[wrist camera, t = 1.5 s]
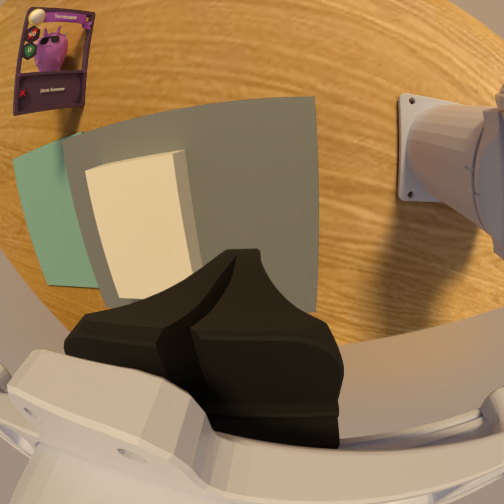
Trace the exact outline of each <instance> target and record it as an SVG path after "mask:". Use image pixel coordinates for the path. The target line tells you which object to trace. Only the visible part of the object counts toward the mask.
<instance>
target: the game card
mask: <svg viewBox="0 0 504 504" xmlns="http://www.w3.org/2000/svg"><path fill="white" fill-rule="evenodd" d="M86 17H89V21H88V22H86ZM94 19H95V13H94V12H89V11H81V10H72V9H61V8H44V7H31V8H30V9H29V10H28V11H27V14H26V18H25V22H24V26H23V31H22V36H21V41H20V47H19V53H18V59H17V67H16V76H15V86H14V102H13V115H14V116H17V115H22V114H28V113H34V112H40V111H46V110H53V109H61V108H70V107H80V106H84V104H85V90H86V77H87V66H88V57H89V49H90V42H91V36H92V30H93V24H94ZM42 22H73V23H81V24H82V28H85V29H87V32H86V38H85V45H84V52H83V60H82V69H81V70H62V71H60V67H61V65H62V63H63V62H64V60H65V57H66V54H67V50H68V43H67V38H68V37H67V38H66V35H67V33H66V34H60V33H59V32H60V29H61V26H59V28H58V30H57V31H56V33H50V34H48V33H47V29H46V28H45V30H44V37H42V38H39V35H40V29H38V28H37V27H35V26H37V25H39V24H41V23H42ZM28 23H30V24H31V25H33V26H32V27H31V28H29V29H27V28H28ZM35 40H37V42H35V44H34V43H32V42H34V41H35ZM25 41H27V42H29V43H28V44H26V45H24V43H25ZM22 57H23V58H25V59H27V60H29V59H30V58H32V57H34V59H35V62H36V66H37V67H38V69H39V71H38V72H31V73H20V70H21V62H22ZM56 70H57V71H56Z"/></svg>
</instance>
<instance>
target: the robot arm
mask: <svg viewBox="0 0 504 504" xmlns="http://www.w3.org/2000/svg"><path fill="white" fill-rule="evenodd" d="M499 92H500V93H497V94H496V95H495V99H496V103H497V107H493V106H476V105H463V104H459V103H455V102H450V101H446V100H441V99H436V98H430V97H425V96H419V95H413V94H406V93H404V94H400V95H399V97H398V108H399V176H398V197H399V198H400V199H401V200H402V201H421V202H443V203H445V204H446V205H448V206H449V207H451V208H452V209H454V210H455V211H457V212H458V213H460V214H461V215H463V216H464V217H466V218H467V219H468V220H470V221H471V222H473V223H474V224H475V225H477V226H478V227H479V228H481V229H482V230H484V231H485V232H486V233H487V234H489V235H490V236H491V238H492V240H493V245H494V252H495V253H496V254H497V255H498V256H499V257H501V258H502V259H503V260H504V84H503V85H502V87H501V89H500V91H499ZM409 98H412V100H413V104H410V102H409ZM409 192H412V195H411V196H410V197H408V193H409ZM64 351H65V354H62V353H58V352H54V351H51V350H33V351H32V353H31V354H30V355H29V356H28V358H27V359H26V360H25V362H24V363H23V364H22V365H21V367H20V368H19V369H18V371H17V372H16V373H15V375H14V376H13V377H12V376H11V375H10V373H9V372H8V370H7V369H6V368H5V367H4V366H3V365H2V364H1V363H0V437H1V438H3V439H4V440H5V441H6V442H8V443H9V444H10V445H12V446H13V447H14V448H16V449H17V450H18V451H20V452H21V453H22V454H24V455H25V456H27V457H28V458H29V459H30V460H29V462H28V464H27V466H26V468H25V470H24V472H23V474H22V476H21V478H20V480H19V483H18V485H17V487H16V489H15V491H14V493H13V496H12V498H11V500H10V503H9V504H448V503H451V502H453V501H455V500H457V499H460V498H462V497H464V496H466V495H468V494H471V493H473V492H474V491H477V490H479V489H481V488H483V487H485V486H487V485H488V484H490V483H492V482H494V481H496V480H498V479H499V478H501V477H503V476H504V386H503V387H500V388H498V389H496V390H494V391H493V392H492V393H491V394H490V395H489V396H488V397H487V398H486V399H485V401H484V402H483V404H482V405H481V407H480V408H478V409H475V410H473V411H470V412H467V413H464V414H461V415H458V416H455V417H451V418H448V419H444V420H441V421H437V422H434V423H430V424H426V425H422V426H418V427H413V428H409V429H404V430H399V431H394V432H389V433H383V434H376V435H370V436H363V437H355V438H346V439H339V428H338V418H337V417H338V416H339V406H338V398H339V394H340V390H341V386H342V381H343V377H344V365H343V360H342V357H341V354H340V351H339V348H338V346H337V343H336V341H335V339H334V337H333V335H332V333H331V331H330V329H329V327H328V325H327V324H326V323H325V322H324V321H322V320H319V319H317V318H315V317H313V316H311V315H309V314H307V313H305V312H303V311H302V310H300V309H299V308H297V307H296V306H294V305H293V304H292V303H291V302H290V301H288V300H287V299H286V298H285V297H284V296H283V295H282V294H281V293H280V292H279V290H278V289H277V288H276V287H275V285H274V284H273V283H272V281H271V280H270V278H269V276H268V275H267V273H266V271H265V269H264V267H263V265H262V262H261V252H260V250H259V249H258V248H252V249H226V250H225V251H223V252H222V253H220V254H219V255H218V256H216V257H215V258H214V259H212V260H211V261H210V262H208V263H207V264H206V265H204V266H203V267H202V268H200V269H199V270H197V271H196V272H194V273H193V274H191V275H190V276H189V277H187V278H186V279H184V280H182V281H181V282H179V283H177V284H175V285H174V286H172V287H170V288H168V289H166V290H164V291H162V292H159V293H157V294H155V295H152V296H150V297H147V298H145V299H143V300H140V301H137V302H134V303H131V304H128V305H124V306H121V307H117V308H113V309H109V310H104V311H99V312H94V313H89V314H85V315H84V316H83V317H82V319H81V320H80V321H79V322H78V324H77V325H76V326H75V328H74V329H73V330H72V331H71V333H70V334H69V335H68V337H67V338H66V339H65V341H64Z"/></svg>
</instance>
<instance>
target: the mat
mask: <svg viewBox="0 0 504 504" xmlns="http://www.w3.org/2000/svg"><path fill="white" fill-rule="evenodd" d="M82 133H83V132H79V133H76V134H74V135H71V136H68V137H65V138H62V139H60V140H57V141H55V142H52V143H50V144H47V145H45V146H42V147H40V148H37V149H35V150H33V151H30V152H28V153H26V154H24V155H21V156H19V157H17V158H15V159H13V166H14V171H15V177H16V182H17V187H18V191H19V196H20V200H21V204H22V208H23V212H24V216H25V219H26V223H27V226H28V230H29V233H30V236H31V240H32V243H33V246H34V249H35V252H36V255H37V257H38V260H39V263H40V266H41V268H42V271H43V274H44V276H45V279H46V281H47V284H48V285H59V286H76V287H94V288H99V287H98V284H97V281H96V278H95V276H94V273H93V270H92V267H91V264H90V261H89V258H88V254H87V251H86V248H85V245H84V241H83V238H82V234H81V231H80V227H79V224H78V220H77V216H76V212H75V208H74V204H73V199H72V195H71V190H70V185H69V181H68V175H67V170H66V165H65V159H64V152H63V146H62V140H65V139H68V138H70V137H73V136H76V135H79V134H82Z"/></svg>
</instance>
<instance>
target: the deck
mask: <svg viewBox="0 0 504 504" xmlns="http://www.w3.org/2000/svg"><path fill="white" fill-rule="evenodd" d="M62 146H63V152H64V159H65V165H66V170H67V175H68V181H69V185H70V190H71V195H72V199H73V204H74V208H75V212H76V216H77V220H78V224H79V227H80V231H81V234H82V238H83V241H84V245H85V248H86V251H87V254H88V258H89V261H90V264H91V267H92V270H93V273H94V276H95V278H96V281H97V284H98V287H99V290H100V292H101V295H102V297H103V300H104V303H105V305H106V307H111V308H117V307H121V306H124V305H128V304H131V303H134V302H137V301H140V300H143V299H131V298H119V296H118V293H117V290H116V287H115V284H114V281H113V278H112V275H111V272H110V269H109V266H108V263H107V259H106V256H105V253H104V249H103V246H102V242H101V239H100V235H99V231H98V228H97V224H96V220H95V216H94V211H93V207H92V203H91V198H90V194H89V189H88V184H87V179H86V174H85V171H86V170H89V169H92V168H94V167H97V166H100V165H103V164H107V163H112V162H117V161H122V160H126V159H132V158H137V157H142V156H148V155H154V154H160V153H166V152H173V151H180V150H185V154H186V162H187V170H188V177H189V185H190V192H191V199H192V205H193V212H194V218H195V225H196V231H197V237H198V243H199V249H200V255H201V260H202V266H204V265H206V264H207V263H208V262H210V261H211V260H212V259H214V258H215V257H216V256H218V255H219V254H220V253H222V252H223V251H225V250H226V249H252V248H258V249H259V250H260V252H261V262H262V265H263V267H264V269H265V271H266V273H267V275H268V276H269V278H270V280H271V281H272V283H273V284H274V285H275V287H276V288H277V289H278V290H279V292H280V293H281V294H282V295H283V296H284V297H285V298H286V299H287V300H288V301H290V302H291V303H292V304H293V305H294V306H296V307H297V308H299V309H300V310H302V311H303V312H305V313H310V312H316V302H317V280H318V248H319V178H318V146H317V125H316V109H315V97H278V98H262V99H249V100H238V101H229V102H221V103H213V104H206V105H199V106H193V107H187V108H181V109H176V110H170V111H165V112H160V113H156V114H151V115H147V116H142V117H138V118H134V119H130V120H126V121H122V122H119V123H115V124H111V125H108V126H104V127H101V128H98V129H95V130H91V131H88V132H85V133H82V134H79V135H76V136H73V137H70V138H68V139H65V140H62Z"/></svg>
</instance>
